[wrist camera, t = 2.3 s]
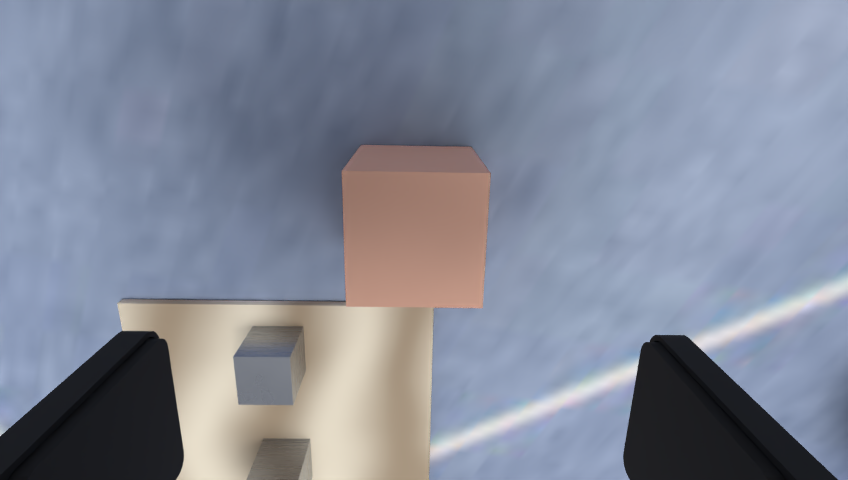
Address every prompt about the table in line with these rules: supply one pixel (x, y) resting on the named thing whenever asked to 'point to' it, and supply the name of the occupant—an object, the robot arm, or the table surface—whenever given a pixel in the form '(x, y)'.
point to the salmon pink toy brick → (415, 226)
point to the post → (282, 460)
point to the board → (319, 391)
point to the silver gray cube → (270, 365)
